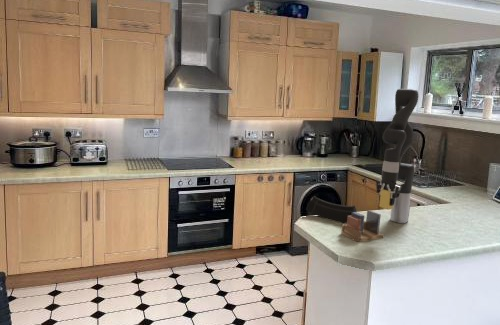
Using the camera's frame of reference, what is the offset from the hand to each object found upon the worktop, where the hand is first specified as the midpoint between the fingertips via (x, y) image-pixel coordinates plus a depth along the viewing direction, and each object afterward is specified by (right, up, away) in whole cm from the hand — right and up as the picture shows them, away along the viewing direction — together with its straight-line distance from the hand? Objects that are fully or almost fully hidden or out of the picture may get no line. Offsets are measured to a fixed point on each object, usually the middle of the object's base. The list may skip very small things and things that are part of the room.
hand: (386, 203), depth 205 cm
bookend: (-5, -15, +7) cm, 17 cm away
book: (0, -2, 0) cm, 2 cm away
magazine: (-22, -12, +29) cm, 38 cm away
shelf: (-11, -17, +4) cm, 20 cm away
